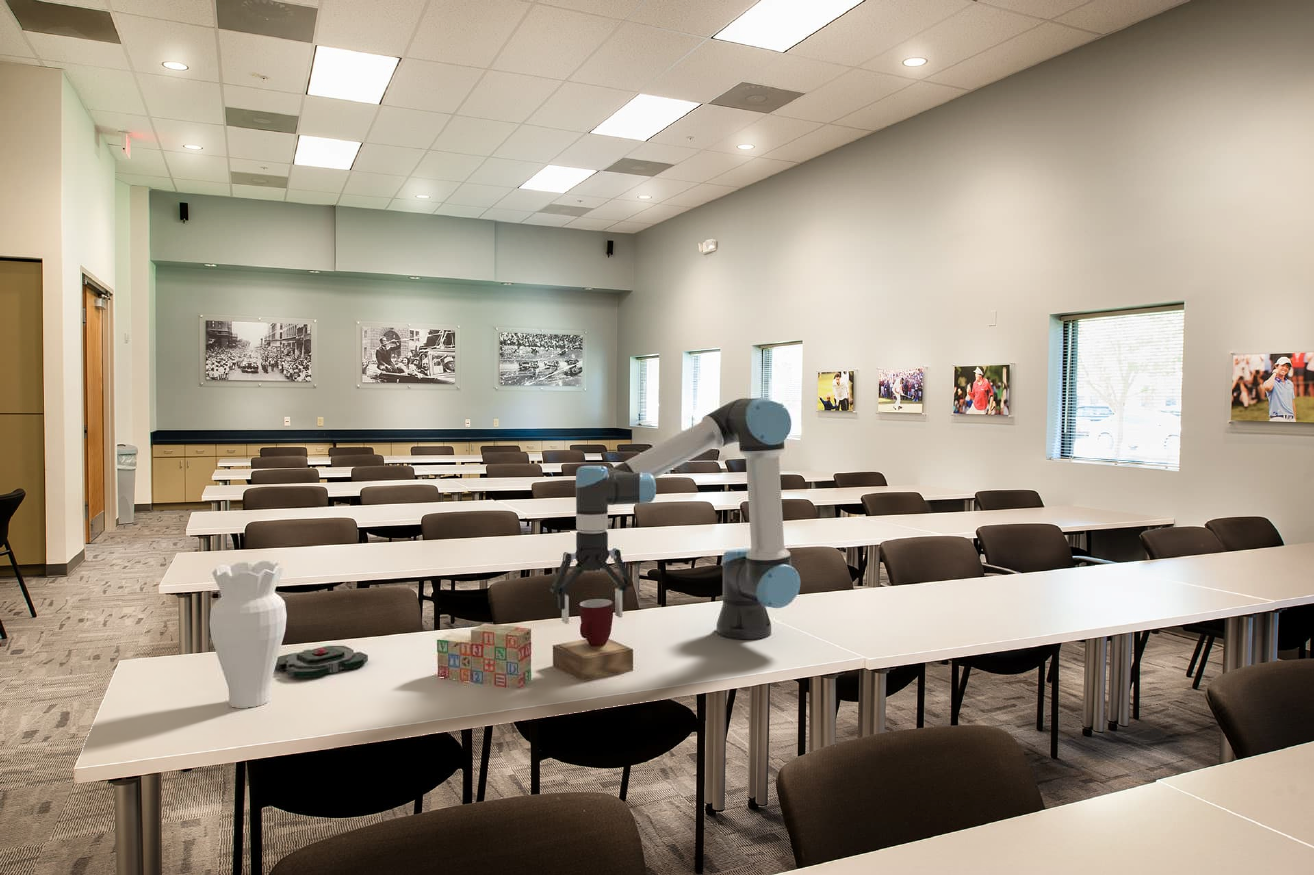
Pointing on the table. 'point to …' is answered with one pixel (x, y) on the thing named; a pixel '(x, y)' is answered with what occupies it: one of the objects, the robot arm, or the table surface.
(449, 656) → the stack of blocks
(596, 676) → the walnut block
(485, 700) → the table surface
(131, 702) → the table surface
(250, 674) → the vase
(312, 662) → the four-lobed dark green device
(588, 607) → the mug
